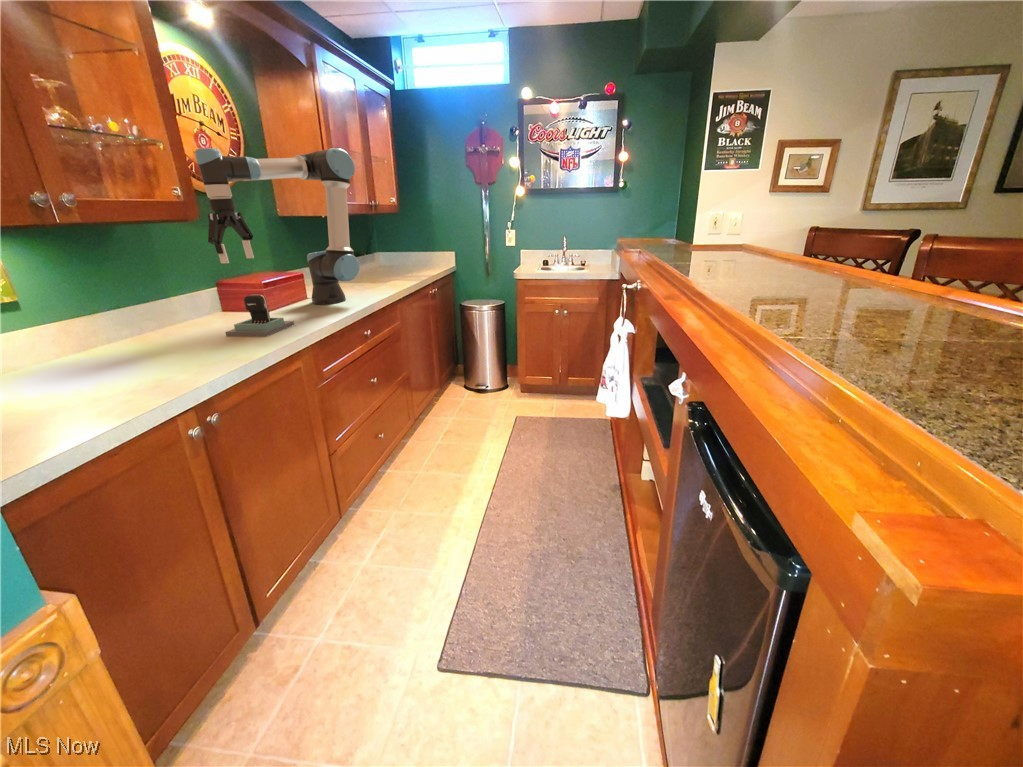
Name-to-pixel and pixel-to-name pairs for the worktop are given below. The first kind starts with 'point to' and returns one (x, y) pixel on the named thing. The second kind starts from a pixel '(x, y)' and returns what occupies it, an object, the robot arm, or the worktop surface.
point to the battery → (257, 309)
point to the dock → (259, 328)
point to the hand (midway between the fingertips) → (238, 260)
